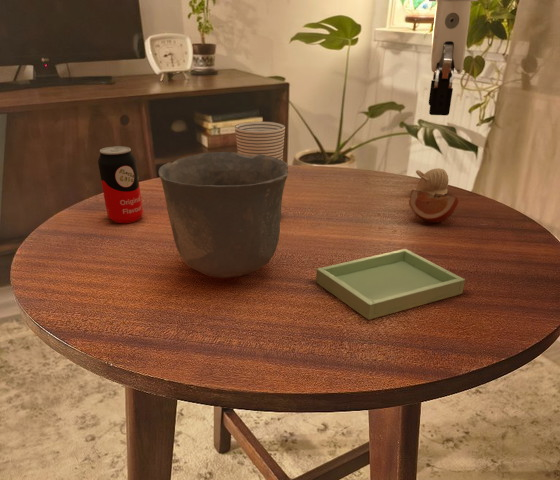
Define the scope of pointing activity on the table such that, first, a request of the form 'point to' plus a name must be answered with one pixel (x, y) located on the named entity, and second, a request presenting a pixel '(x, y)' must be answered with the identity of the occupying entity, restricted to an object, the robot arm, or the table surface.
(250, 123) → the cup
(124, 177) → the beverage can
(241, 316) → the table surface
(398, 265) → the serving tray
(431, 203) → the fruit slice
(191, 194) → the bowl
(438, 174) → the decorative ornament
